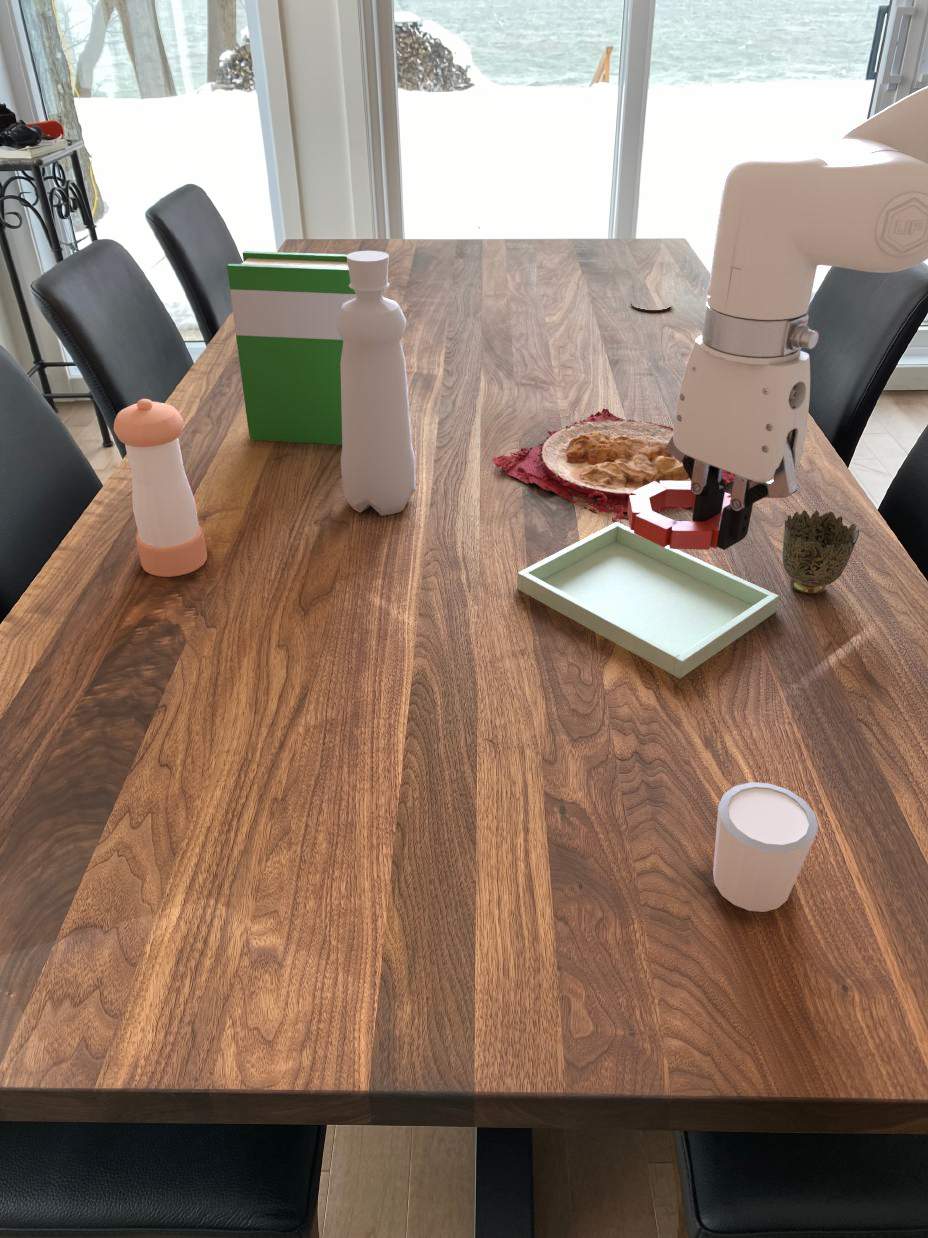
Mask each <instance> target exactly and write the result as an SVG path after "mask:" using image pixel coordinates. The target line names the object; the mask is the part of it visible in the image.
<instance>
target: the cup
mask: <svg viewBox="0 0 928 1238" xmlns="http://www.w3.org/2000/svg"><path fill="white" fill-rule="evenodd" d="M843 520H844V519H843V517H842V516H841V515H840V516H838V517H837V516H836V515H835V513H834V512H833V511H828V512H825V513H823V514H822V515H820V511H819V510H818V509H816V510H815V511H813V513H812V514H811V516H810V515H809V513H808V511H806V510H805V509H804V510H803V511H802V512H801V514H800V513H799V512H798V511H795V512H794V514H793V515H791V514H789V515H788V516H787V519H784V521H783V522H784V528H783V538H782V539H783V540H782V553H781V554H782V557H781V558H782V565H783V568H784V571H785V572H786V574H787V575H788V577H790V578H791V579H790V581H789V583H790V587H791V589H792V591H795V592H796V593H798V594H801V595H803V596H808V597H809V596H811V597H813V596H820V595H822V594H823V593H824V592H825V591H826V589H827V586H828V585H830V584H832V583H834V582H836V581H837V580H838V579H839V578H840V577H841V576H842V574H843V573H844V571H845V569H846V567H847V565H848V563H849V561H850V558H851V556H852V553H853V551H854V549H855V546H856V544H857V541H858V539H859V536H860V529H859V528H857V525H856V524H855V523H852V524H850V525H849V527H848V525H845V524H844V523H843Z"/></svg>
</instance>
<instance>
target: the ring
mask: <svg viewBox="0 0 928 1238" xmlns="http://www.w3.org/2000/svg"><path fill="white" fill-rule="evenodd" d="M731 494H732V493H729V492H726V491H725V494H724V500H723V506H722V511H723V508H724V507H726V506H727V505H729V504H730V500H731ZM695 497H696V494H694V493H693V492H692V490H691V481H659V483H657V482H652V483H650V484H648V485H646V486H644V487H642V488H640V489H637V490H635V491H633V492H631V495H629V501H628V510H627V512H626V513H627V518H629V520H628V522H629V523H628V524H629V528H630V529H631V530H634V534H636V535H639V536H641V537H643V538H645V539H647V540H649V541H651V542H653V543H656V544H658V545H660V546H662V547H666V546H667V545H669V546H670V549H677V550H701V551H702V550H704V551H705V550H707V551H709V550H710V549H711V548H712V549H718V545H717V543H718V537H719V531H720V530H719V529H720V523H721V517H722V511H721V513H719V514H717V515H716V516H714V517H712V518H710V519H708V520H706V521H704V522H694V521H693V520H692V521H691V520H690V521H689V520H688V521H687V520H686V521H685V520H674V519H672V518H670V517H667V516H665V515H662V514H661V513H656V512H654V511H657V510H658V509H659V510H660V508H662V507H664V506H672V507H678V508H679V507H680V508H681V507H688V508H693V509H694V504H695Z"/></svg>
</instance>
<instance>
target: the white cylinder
mask: <svg viewBox="0 0 928 1238" xmlns="http://www.w3.org/2000/svg"><path fill="white" fill-rule="evenodd" d="M815 813H816V812H815V811H814V810H813V809H812V808H811V807H810V805H809V804H808V803H807V802H806V800H805V799H803V798H802V797H800V796H799V795H797V794H795V793H794V792H792V791H791V790H789V789H787V788H785V787H782V786H779V785H775V784H773V783H768V782H754V781H750V782H746V783H741V784H736V785H734V786H733V787H731V788H730V789H729V790H727V791H726V792H724V793H723V794H722V797H721V799H720V801H719V804H718V805H717V815H716V816H717V817H716V831H715V840H714V841H715V842H714V844H715V845H714V853H713V854H714V855H713V864H712V865H713V867H712V876H713V882H714V883H713V884H714V886H715V887H716V889H717V890H718V892H719V894H720V895H721V896H722V897H723V898H724V899H726V900H727V901H728V902H730V903H731V904H732V905H734V906H736V907H738V908H740V909H744V910H746V911H749V912H761V913H767V912H770V911H773V910H777V909H779V908H780V907H781V906H782V905H784V904H785V903H786V902H787V901H788V899H789V897H790V895H791V892H792V890H793V888H794V885H795V883H796V881H797V879H798V877H799V875H800V872H801V870H802V868H803V866H804V864H805V862H806V859H807V857H808V855H809V852H810V850H811V848H812V846H813V844H814V841H815V838H816V836H817V832H818V829H819V824H818V821H817V816H816V814H815Z"/></svg>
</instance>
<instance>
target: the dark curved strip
mask: <svg viewBox="0 0 928 1238" xmlns="http://www.w3.org/2000/svg"><path fill="white" fill-rule="evenodd" d="M631 307H632V308H634V309H636V310H638V311H644V312H663V311H667V310H669V309H668V308H667V309H663V310H645V309H640V308H636V307H634V306H631Z"/></svg>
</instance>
